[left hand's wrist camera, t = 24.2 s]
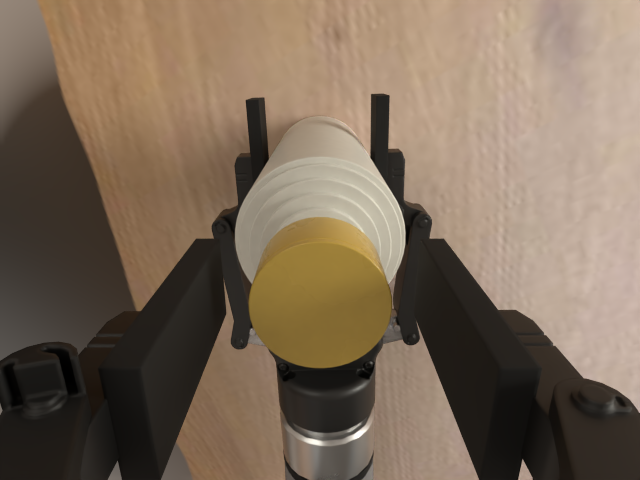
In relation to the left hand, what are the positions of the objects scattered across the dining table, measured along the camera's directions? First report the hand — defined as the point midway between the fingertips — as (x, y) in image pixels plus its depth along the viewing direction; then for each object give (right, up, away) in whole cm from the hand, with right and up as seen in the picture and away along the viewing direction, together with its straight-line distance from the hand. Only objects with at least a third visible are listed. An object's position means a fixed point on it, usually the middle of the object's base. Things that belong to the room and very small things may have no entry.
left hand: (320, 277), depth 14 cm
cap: (0, -1, -2) cm, 2 cm away
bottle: (0, +7, +20) cm, 21 cm away
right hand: (0, +10, +12) cm, 16 cm away
